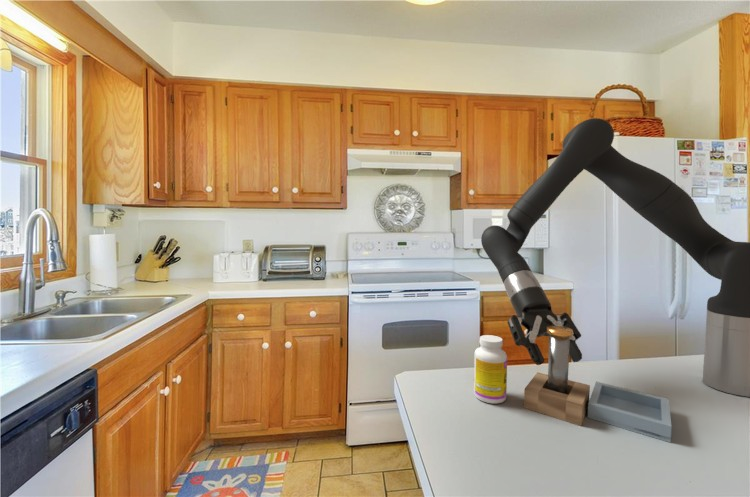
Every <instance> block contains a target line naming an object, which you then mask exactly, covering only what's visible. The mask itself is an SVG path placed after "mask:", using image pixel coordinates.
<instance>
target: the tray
mask: <svg viewBox="0 0 750 497" xmlns="http://www.w3.org/2000/svg"><path fill="white" fill-rule="evenodd" d="M587 418H588V419H590V420H594V421H597V422H601V423H604V424H608V425H610V426H611V425H612V426H614V427H618V428H621V429H624V430H628V431H631V432H635V433H637V434H640V435H645V436H647V437H651V438H655V439H657V440H661V441H664V442H668V443H669V444H670V443H671V442H672V419H671V407H670V400H669V398H666V397H663V396H659V395H658V396H657V395H654V394H649V393H645V392H641V391H638V390H633V389H628V388H624V387H621V386H616V385H613V384H609V383H604V382H600V381H595V383H594V386H593V389H592V393H591V395H590V396H589V403H588V409H587Z"/></svg>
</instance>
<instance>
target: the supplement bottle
mask: <svg viewBox="0 0 750 497" xmlns="http://www.w3.org/2000/svg"><path fill="white" fill-rule="evenodd" d="M503 343H504V342H503V338H502V337H500V336H496V335H491V334H484V335H481V336H479V347H477V348H476V349H475V351H474V364H473V365H474V367H473V368H474V371H473V394H474V395H473V396H475V397H476V399H478V400H480V401H482V402H484V403H487V404H492V405H493V404H494V405H495V404H501V403H503V402H505V401H506V399H507V389H508V388H507V385H508V384H507V382H508V380H507V379H508V377H507V376H508V356H507V352H505V351H504V350H503V349H502V347H503V345H504V344H503Z"/></svg>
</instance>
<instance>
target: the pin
mask: <svg viewBox="0 0 750 497" xmlns="http://www.w3.org/2000/svg"><path fill="white" fill-rule="evenodd" d="M547 333H548V334H549V336H548V362H547V363H548V364H547V367H548V368H547V375H548V390H552V391H556V392H559V393H563V394H567V395H568V380H569V368H570V364H569V362H570V355H569V343H570V337H572V336H573V330H572V329H570V328H567V327H562V326H548V327H547Z"/></svg>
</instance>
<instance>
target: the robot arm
mask: <svg viewBox="0 0 750 497" xmlns="http://www.w3.org/2000/svg"><path fill="white" fill-rule="evenodd" d="M614 139H615V132H614V127H613V126H612V125H611V124H610V122H609V121H607V120H605V119H603V118H597V117H595V118H588V119H585V120H583V121H580V122H579V123H578V124H576V125H575V126H574V127H573V128H572V129H570V131H568V132H567V134H566V135H565V137H564V138H563V141H562V150H561V151H560V152H559V154H558V155H557V157H556V159H555V160H554V161H553V162H552V163H551V165H550V166H548V168H547V169H546V170H545V171H544V172H543V173H542V174H541V175H540V176H539V177H538V178H537V179H536V180H535V181H534V182H533V183H532V185H530V186H529V187H528V188H527V190H526V191H525V192H524V193H523V194H522V195H521V196H520V197H519V199H518V200H517V201H516V202H515V203H514V204H513V205H512V206H511V208H510V209H509V210H508V212H507V219H508V221H509V224H508V226H507V228H504V227H502V226H500V225H490V226H487V228H485V229H484V230H483V232H482V235H481V245H482V249H483V250H484V252H485V253H486V255H487V257H488V258H489V260H490V261H491V262H492V264H493V266H494V267H495V268H496V269H497V272H498V275H499V276H500V279H501V281H502V283H503V285H504V289H505V292H506V295H507V297H508V298H509V301H510V303H511V306H512V308H513V310H514V313H515V314H516V315H515V314H512V315H511V317H510V318H509V319H508V320H507V325H508V328H509V330H510V333H511V335H512V339H513V342H514V344H515V346H517V347H520V346H521V347H522V346H523V347H524V348H526V349H527V352H528V354H529V356H530V358H531V361H532V362H533V363H535V365H537V366H540V365H542V364H543V363H544V362H545V358H544V355H543V354H542V351H541V349H540V347H539V344H538V343H536V339H537V338H540V337H549V334H548V333H547V327H548V326H562V327H567V328H570V329H572V330H573V336H572V337H570V343H569V358H570V359H571V361H572V362H573V363H578V362H580V361H581V360H582V359H583V353H582V352H581V350H580V347H579V346H578V344H577V342H576V341H578V339H580V338H581V337H582V334H581V332H580V331H579V329H578V328H577V326H576V324H575V323H574V321H573V320H572V318H571V317H570V315H569V313H567V312H563V313H562V314H560V315H558V314H557V315H556V314H555V313H554V312H553V310H552V305H551V304H552V303H551V302H550V300H549V298H548V297H547V294H546V292H545V291H544V289H543V287H542V285H541V284H540V282H539V280H538V278H537V277H536V275H535V274H534V273H533V272H532V270H531V268H530V266H529V264H528V262H527V261H526V259H525V258H524V257H523V256H522V254H520V253H519V251H520V250H521V248H522V247H523V245H524V243H525V241H526V240H527V238H528V236H529V234H530V231H531V230H532V228H533V227H534V225H535V224H536V223H537V222H538V221H539V220H540V219H541V217H543V215H544V214H545V213H546V212H547V211H548V209H549V208H550V207H551V206H552V205H553V204H554V202H555V201H556V200H557V199H558V197H559V196H560V195H561V194H562V192H564V191H565V189H566V188H567V187H568V186H569V185H570V184H571V183H572V181H573V180H575V179H576V178H577V177H578V176H579V175H580V173H582V172H583V171H584V170H585V171H586V172H588V173H590V174H591V175H592V176H594V177H595V178H597V179H598V180H600V181H601V182H602V183H603V184H604V185H605V186H606V187H608V188H609V189H610V190H611V191H612V192H613V193H614V194H615V195H616V196H618V197H619V198H620V199H621V200H622V201H623V202H625V203H626V204H627V205H628V206H629V207H630V208H632V209H633V211H635V212H636V213H637V214H639V215H640V216H641V217H642V218H644V220H646V221H647V222H649V223H650V224H651V225H653V226H654V227H655V228H656V229H658V230H659V231H660V232H661V233H663V234H664V235H666V236H667V237H668V238H670V239H671V240H673V241H674V242H675V243H676V244H677V245H679V247H681V249H683V250H684V251H685V252H686V253H687V254H688V255H689V256H690V257H691V258H692V259H693V260H694V261H695V262H696V263H697V264H698V266H699V267H700V268H702V269H703V270H704V271H705V272H706V273H707V274H708V275H710V276H711V277H713V278H715V279H718V280H720V289H719V292H718V293H717V294H716V295H712V296H711V297H709V298H708V299H707V302H706V303H707V304H706V316H705V318H706V322H705V338H704V352H703V354H704V355H703V363H702V365H703V369H702V382H703V383H704V384H705V385H706V386H708V387H711V388H713V389H715V390H717V391H720V392H724V393H728V394H731V395H736V396H742V397H748V398H749V397H750V241H749V242H748V241H736V240H732V239H730V238H729V237H727V236H726V235H723V233H721V232H720V231H718V230H717V229H715V228H714V227H712V225H710V224H709V223H708V222H707V221H706V220H705V219H704V218H703V215H702V214H701V213H700V210H699V208H698V206H697V204H696V203H695V201H694V199H693V198H692V196H690V194H688V193H687V192H686V191H685V190H684V189H683V188H682V187H680V186H679V185H678V184H676V183H675V182H674V181H672V180H671V179H670V178H668V177H667V176H665V175H663V174H662V173H660V172H658V171H656V170H654V169H651V168H649V167H647V166H645V165H642V164H640V163H638V162H635V161H633V160H631V159H628V158H627V157H626V156H624V155H623V154H621V152H619V151H618V150H617V149H616V148H615V147H613V146H612V144H613V141H614ZM522 327H524V328H525V329H526V333H525V332H524V330H523V328H522Z"/></svg>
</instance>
